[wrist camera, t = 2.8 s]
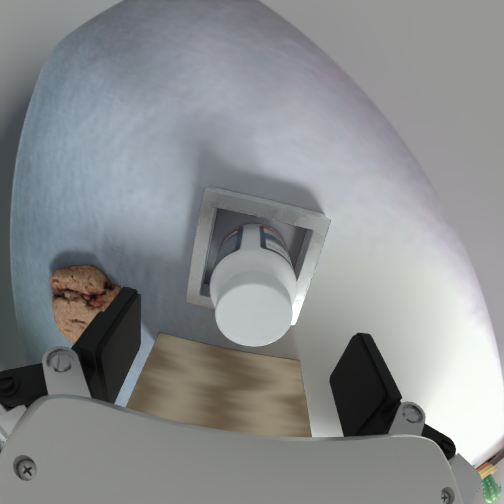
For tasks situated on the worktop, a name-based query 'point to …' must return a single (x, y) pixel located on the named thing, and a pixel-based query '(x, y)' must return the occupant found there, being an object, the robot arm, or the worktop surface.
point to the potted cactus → (489, 482)
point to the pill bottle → (253, 286)
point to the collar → (264, 209)
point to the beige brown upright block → (222, 389)
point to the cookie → (79, 298)
